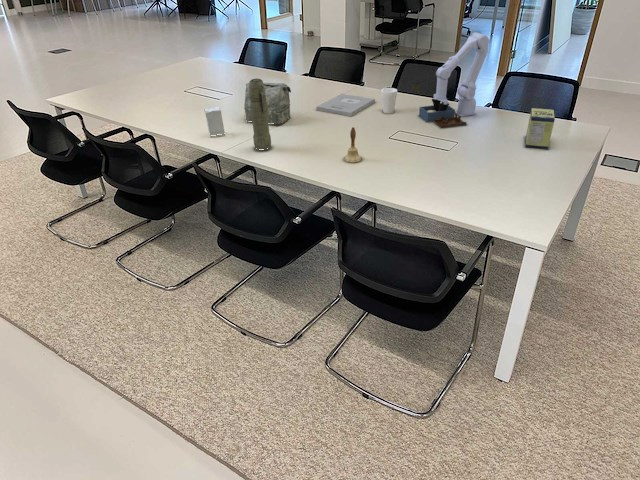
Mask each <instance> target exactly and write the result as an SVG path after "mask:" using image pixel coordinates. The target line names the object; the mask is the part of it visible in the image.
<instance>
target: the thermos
mask: <svg viewBox="0 0 640 480" xmlns="http://www.w3.org/2000/svg"><path fill="white" fill-rule="evenodd" d="M249 82H250V83H249ZM249 82H248V83H249V93H250V113H251V117H252V122H253V123H252V129H253V136H252V139H253V146H254V150H255V151H256V152H268V151H271V149H272V137H271V134H270V127H269V125H270V124H268V105H267V102H266V95H265V87H264V83H265V82H264V81H263V79H261V78H252V79H250V80H249ZM256 148H257V149H256ZM267 148H268V149H267ZM259 149H264V150H259Z"/></svg>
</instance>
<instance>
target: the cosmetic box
mask: <svg viewBox="0 0 640 480" xmlns="http://www.w3.org/2000/svg"><path fill="white" fill-rule="evenodd" d="M204 114H205V119H206V125H207V129H208V134H209V133H210V134H209V136H210V135H216V136H210V138H211V139H213V138H217V137H223V136H226V132H225V127H224V121H223V115H222V109H221V108H220V107H219V106H215V107H209V108H206V109H205V108H204ZM224 133H225V134H224ZM217 134H222V135H217Z"/></svg>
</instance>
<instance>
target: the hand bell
mask: <svg viewBox="0 0 640 480" xmlns="http://www.w3.org/2000/svg"><path fill="white" fill-rule="evenodd" d="M349 132H350V133H349V134H350V147H349V148H348V149H347V153H346V155H345V156H344V158H343V160H344V161H345V162H347V163H351V164H353V163H358V162H361V161H362V157H361V156H360V154H359V151H358V148H357V147H356V143H355V142H356V141H355V140H356V135H357V132H356V129H355V127H354V126H352V127H351V129H350V131H349Z"/></svg>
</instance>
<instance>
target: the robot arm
mask: <svg viewBox="0 0 640 480" xmlns="http://www.w3.org/2000/svg"><path fill="white" fill-rule="evenodd" d="M490 41H491V40H490V38H489V36H488V35H487V34H483V33H479V32H477V31H474V32H472V33H471V34H470V36H468V38H467V39H466V42H465V43H464V44H463V46H462V47H461V48H460V49H459V50H458V51H457V52H456V54H455V55H451V56H449V57H448V60H447V61H445V63H444V64H442V66H440V67H438V69H437V70H436V71H435V76H436V90H435V93H433V98H431V102H432V105H434V110H435V111H438V110H439V107H440V111H446V109H447V107H448V106H450V103H449V100H448V98H447V91H448V81H449V78H450V77H451V75H452V72H453V71H454V70H455V69H456V68H457V67H458V66H459V64H460V61H461V60H462V58H463V57H465V55H466V54H467V53H469V52H470V51H471V50H474V49H475V51H476V53H475V55H474V58H473V61H472V64H471V66H470V68H469V71H468V74H467V76H466V78H465V80H464V81H462V82H461V84H460V86H459V87H458V88H457V92H456V93H457V95H458V104H457V110H455V114H458V117H459V116H461V117H466V116H472V115H476V105H477V100H476V98H475V95H476V89H477V87H476V86H477V85H476V82H477V80H478V76H479V74H480V72H481V70H482V68H483V65H484V63H485V60H486V57H487V55H488V53H489V43H490Z"/></svg>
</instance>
